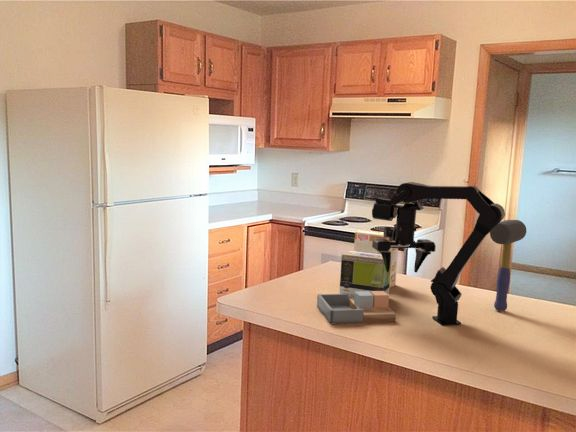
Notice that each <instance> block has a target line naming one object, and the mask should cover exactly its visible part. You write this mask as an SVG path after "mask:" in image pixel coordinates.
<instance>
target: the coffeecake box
mask: <svg viewBox="0 0 576 432" xmlns="http://www.w3.org/2000/svg"><path fill="white" fill-rule="evenodd" d="M374 239H386V240H388V241H389V238H384V231H378V230H369V229H359V230H356V231H354V242H353V243H354V247H353V251H356V252H365V253H373V254H381V253H380V252H378V251H377V250H376V249H374V248H373V247H372V242H373V240H374ZM389 242H395V241H389ZM389 251H390V252H391V269H390V285H389V289H391V288H393V287H395V286H396V283H397V271H398V270H397V268H398V267H397V266H398V254H399V248H390V249H389Z"/></svg>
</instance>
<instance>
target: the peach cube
mask: <svg viewBox="0 0 576 432" xmlns="http://www.w3.org/2000/svg"><path fill="white" fill-rule="evenodd" d="M370 293H371V294H372V295H374V296H373V307H374V308H388V307H389V302H390V301H389V298H390V294H389V295H388V294H387V293H386V292H384V291H370Z"/></svg>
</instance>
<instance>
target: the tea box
mask: <svg viewBox="0 0 576 432" xmlns="http://www.w3.org/2000/svg"><path fill="white" fill-rule="evenodd" d="M390 269H391V257H390ZM390 269H389V272H387V271H386V268H385V264H384V260H383V257H382V255H381V254H373V253H365V252H356V251H354V250H350V251H347V252H345V253H343V254H341V262H340V278H339V293H338V294H348V298H355V291H369V292H370V291H384V292H386V293H387V294H388V295H389V296H390V288H389V285H390Z"/></svg>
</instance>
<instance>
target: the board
mask: <svg viewBox="0 0 576 432" xmlns="http://www.w3.org/2000/svg"><path fill="white" fill-rule="evenodd" d="M348 305H349V306H350V308H351V309H363V310H364V313H363V323H362V324H367V323H396V321H397V320H396V319H397V318H396V317H397V314H396V312H394V311H393V310H392V309H391V308H390V307H389V306H388V308H374V307H373V308H358V307H357V306H356V305H355V304H354V298H350V297H348Z"/></svg>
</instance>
